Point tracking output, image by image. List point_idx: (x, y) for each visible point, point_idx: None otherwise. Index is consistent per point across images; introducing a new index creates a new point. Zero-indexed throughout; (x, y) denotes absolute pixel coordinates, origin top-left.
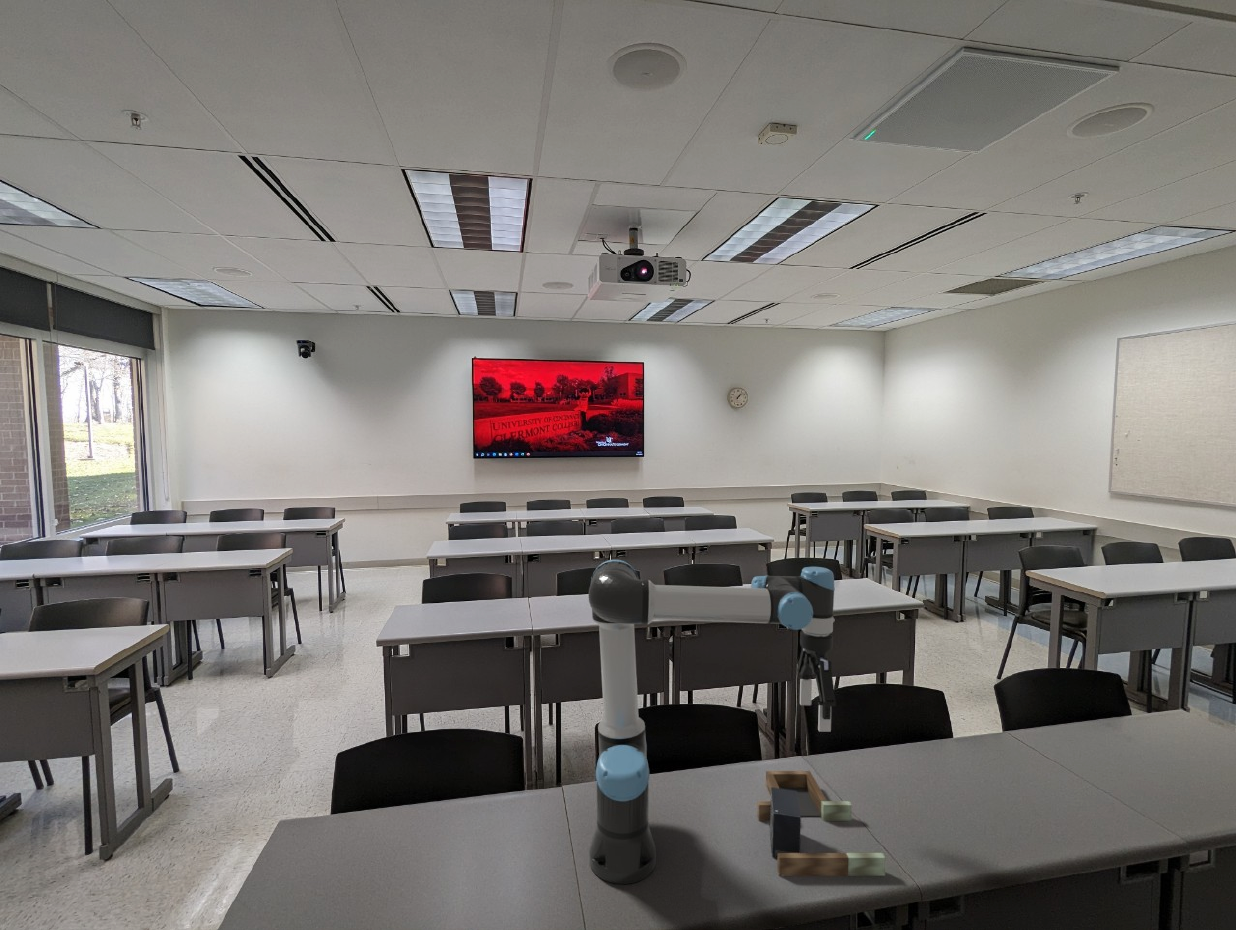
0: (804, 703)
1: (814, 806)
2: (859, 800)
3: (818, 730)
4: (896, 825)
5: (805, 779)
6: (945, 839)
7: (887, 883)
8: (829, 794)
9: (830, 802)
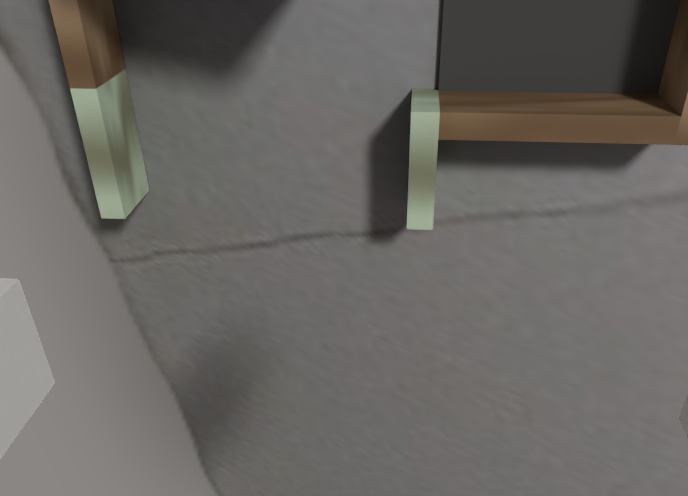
0: None
1: (504, 84)
2: (529, 274)
3: (3, 278)
4: (378, 326)
5: (672, 103)
6: (313, 415)
7: None
8: (589, 180)
9: (428, 150)
